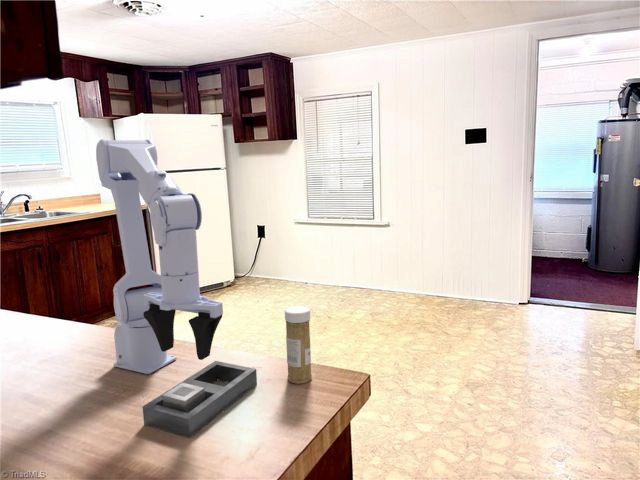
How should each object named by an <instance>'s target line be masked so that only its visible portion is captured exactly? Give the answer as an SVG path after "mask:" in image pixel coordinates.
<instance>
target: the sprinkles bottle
mask: <svg viewBox="0 0 640 480" xmlns="http://www.w3.org/2000/svg"><path fill="white" fill-rule="evenodd" d="M284 320H285V329H286V332H285V333H286V335H285V339H286V340H285V341H286V342H285V343H286V345H285V346H286V363H287V381H288V382H290V383H293V384H298V385H300V384H306V383H307V382H310V381H311V380H312V377H313V376H312V367H311V362H312V360H311V359H312V354H311V336H310V335H311V333H310V321H311V310H310V308H309V307H307V306H303V305H294V306H289V307H286V309H284Z"/></svg>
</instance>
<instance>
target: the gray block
mask: <svg viewBox="0 0 640 480" xmlns="http://www.w3.org/2000/svg"><path fill="white" fill-rule="evenodd" d="M180 383H181V382H180ZM178 384H179V383H178ZM178 384H177V385H178ZM175 386H176V385H175ZM173 387H174V386H173ZM173 387H172V388H173ZM170 389H171V388H170ZM170 389H169V390H170ZM167 391H168V390H167ZM165 392H166V391H165ZM165 392H164V393H165ZM162 394H163V393H162ZM162 394H161V395H162ZM162 398H163V407H166V408H170V409H174V410H177V411H181V412H185V413H189V412H190V411H191V410H193V409H194V408H196V407H197V406H198V405H200V404H201V403H203V402H204V401H205V391H204V388H203V387H198V386H194V385H190V384H186V383H181V384H179V385H178V386H176V387H174V388H173V389H171V390H170V391H168V392H166V393H165V394H163V395H162Z"/></svg>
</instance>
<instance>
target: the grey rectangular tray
mask: <svg viewBox="0 0 640 480" xmlns="http://www.w3.org/2000/svg"><path fill="white" fill-rule="evenodd" d="M257 377H258V376H257V369H256V368H253V367H248V366H243V365H237V364H233V363H228V362H223V361H219V360H214V361H213V362H211V363H209V364H208V365H206V366H205V367H204V368H202V369H200V370H198V371H197V372H195V373H194V374H192V375H190V376H189V377H187V378H185V379H184V380H183V381H181V382H179V383H177V384H176V385H174V386H173V387H171V388H170V389H168V390H167V391H165V392H163V393H162V394H160V395H159V396H157V397H155V398H154V399H153V400H151V401H149V402H147V403H146V404H144V405H142V416H143V425H144V426H148V427H152V428H155V429H158V430H161V431H165V432H169V433H173V434H175V435H178V436H182V437H186V438H189V439H191V438H192V437H194V436H195V435H196V434H197V433H198V432H199V431H201V430H202V429H203V428H204V427H206V426H207V425H209V423H211V422H212V421H213V420H215V419H216V418H217V417H218V416H220V415H221V414H222V413H223V412H225V411H226V410H227V409H228V408H231V406H232V405H233V404H235V403H236V402H238V400H240V399H241V398H242V397H243V396H245V395H247V393H249V392H250V391H251V390H252V389H254V388H255V387H256V386H257V385H258V378H257ZM217 381H222V382H226V383H228V384H226V385H225V386H222V385H217V384H214V383H215V382H217ZM181 383H186V384H190V385H194V386H198V387H203V388H204V391H205V401H204V402H203V403H201V404H200V405H198V406H197V407H196V408H194V409H193V410H191V411H190V412H189V413H185V412H181V411H177V410H174V409H170V408H166V407H163V398H162V395H163V394H165V393H166V392H168V391H170V390H171V389H173V388H174V387H176V386H178V385H179V384H181Z"/></svg>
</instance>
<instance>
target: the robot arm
mask: <svg viewBox="0 0 640 480" xmlns="http://www.w3.org/2000/svg"><path fill="white" fill-rule="evenodd" d="M95 147H96V148H95V159H96V166H97V172H98V178H99V181H100V184H101V186H102V187H103V188H106V189H107V190H110V192H111V194H112V195H111V196H112V198H113V202H114V208H115V213H116V220H117V226H118V230H119V231H118V232H119V237H120V244H121V250H122V255H123V262H124V268H125V269H124V270H125V274H124V275H123V276H122V277H120V279H119V280H118V281H116V283H115V284H114V286H113V289H112V292H113V293H112V294H113V309H114V314H115V317H116V320H117V321H118V323H117V325H116V327H115V328H114V346H115V358H116V362H114V363H113V367H117V368H120V369H124V370H129V371H132V372H137V373H141V374H145V375H150V374H151V373H153V372H155V371H157V370H159V369H161V368H162V367H164V366H166V365H169V364H170V363H172V362H173V361H175V360H177V356H175V355H172V354H168V353H167V351H170V350H171V349H173V348H174V345H175V344H174V343H175V336H174V335H175V334H174V333H175V331H174V330H175V329H174V324H175V323H174V322H175V316H176V311H181V312H186V313H187V312H188V313H192V314H197V315H196V316H194V317H192V318H190V319H188V323H189V325H190V327H191V330H192V333H193V337H194V340H195V341H194V342H195V350H196V357H197V359H198V360H201V361H203V360H204V359H206V358H208V357H210V356H211V350H212V344H213V339H214V336H215V333H216V330H217V328H218V325H219V324H220V322H221V319H222V318H223V314H224V310H223V309H224V307H223V302H221V301H217V300H213V299H211V298H208V297H205V296H203V295H201V292H200V280H199V279H200V276H199V275H200V274H199V259H198V257H199V256H198V243H197V242H198V240H197V231H198V230H199V229H200V228H201V225H202V219H203V218H202V217H203V215H202V208H201V204H200V200H199V199H198V197H197V195H196V193H194V192H189V193H188V192H183V190H181V188H180V187H179V186H178V184H177V183H176V181H175V180H174V179H173V177H172V176H171V175H170V174H169V173H168V172H166V171H165V170H164V169H163V170H162V169H161V170H160V169H159V168H158V166H157V165H158V153H157V148H156V145H155V143H154V142H153V141H152V140H151V139H145V140H135V139H134V140H133V139H131V140H129V139H124V140H120V139H119V140H118V139H116V140H114V139H113V140H111V139H110V140H108V139H107V140H106V139H104V138H102V139H99V141H98V142H97V143H96V146H95ZM140 197H141V198H142V199H143V201H144V203H145V204H146V205H147V208H148V209H149V212H150V213H149V215H150V217H149V218H150V222H151V226H152V229H153V232H154V233H153V234H154V235H153V237H154V241H155V244H157V245H158V255H159V257H158V258H159V271H160V273H158V272H156V271H154V270H153V269H152V264H151V263H152V262H151V258H150V253H149V252H150V251H149V246H148V240H147V234H146V228H145V221H144V216H143V210H142V203H141V199H140ZM148 285H152V286H148ZM142 286H147V287H143V288H137V287H142ZM131 288H136V289H132V290H131ZM129 289H130V290H129Z"/></svg>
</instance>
